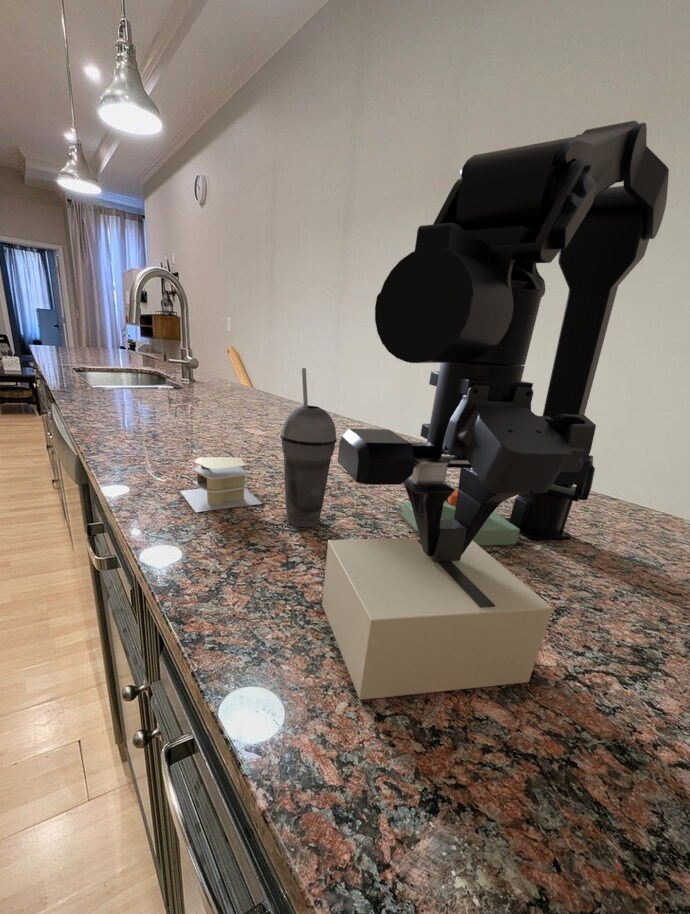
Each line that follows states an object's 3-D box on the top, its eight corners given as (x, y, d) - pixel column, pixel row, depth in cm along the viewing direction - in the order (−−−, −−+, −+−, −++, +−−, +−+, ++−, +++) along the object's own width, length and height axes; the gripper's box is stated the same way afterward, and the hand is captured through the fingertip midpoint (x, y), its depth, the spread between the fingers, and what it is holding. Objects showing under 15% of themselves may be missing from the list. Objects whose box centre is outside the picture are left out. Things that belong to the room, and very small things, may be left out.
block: (475, 514, 68) (481, 489, 66) (516, 544, 59) (523, 516, 57) (401, 515, 65) (405, 490, 64) (432, 547, 56) (438, 518, 55)
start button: (466, 500, 63) (468, 488, 62) (480, 510, 60) (483, 498, 59) (442, 500, 62) (445, 489, 61) (455, 510, 59) (458, 498, 58)
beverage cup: (324, 535, 58) (339, 373, 50) (270, 527, 59) (276, 368, 51) (332, 514, 64) (346, 369, 56) (283, 507, 65) (291, 364, 58)
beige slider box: (451, 594, 46) (465, 532, 44) (529, 682, 35) (554, 606, 32) (320, 601, 43) (326, 536, 41) (359, 700, 32) (371, 618, 29)
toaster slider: (449, 550, 39) (455, 518, 38) (460, 561, 38) (467, 528, 36) (423, 550, 39) (429, 519, 38) (434, 562, 37) (440, 529, 36)
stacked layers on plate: (241, 484, 73) (241, 452, 71) (262, 504, 66) (263, 468, 64) (179, 491, 69) (178, 456, 66) (195, 512, 61) (194, 474, 59)
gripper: (405, 365, 23) (368, 616, 29) (695, 382, 27) (609, 601, 33) (346, 351, 33) (327, 540, 39) (562, 365, 37) (516, 535, 43)
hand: (442, 553), depth 38 cm, fingers closed on toaster slider, 2 cm apart
